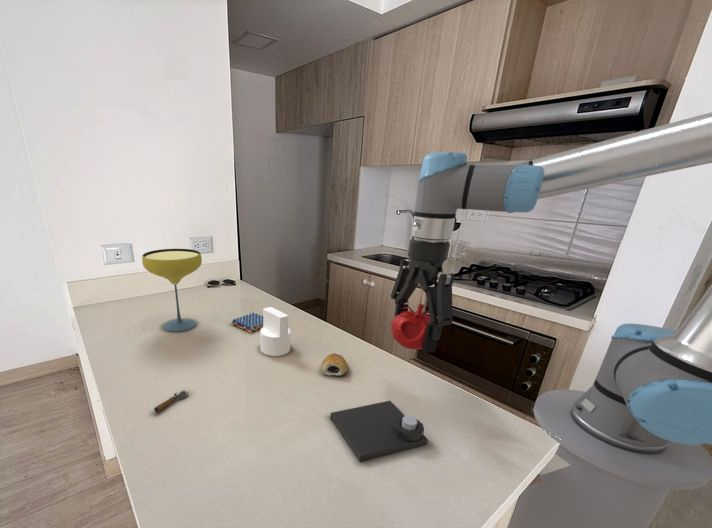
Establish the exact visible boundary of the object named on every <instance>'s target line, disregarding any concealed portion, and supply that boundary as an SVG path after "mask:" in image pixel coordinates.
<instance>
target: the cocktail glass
mask: <svg viewBox="0 0 712 528" xmlns="http://www.w3.org/2000/svg"><path fill="white" fill-rule="evenodd" d="M141 255H142V256H141V263H142V266H143V268H144V269H145V270H146V271H147V272H149V273H151V274H153V275H154V276H155V275H156V276H158V277H161V278H163V279H166V280H168V282H170V284H172V285H173V286H174V293H175V303H176V319H172V320H168V321H167V322H165V323H164V324H163V325H162V326H163V329H164V331H167V332H172V333H179V332H186V331H190V330H192V329H194V328H195V327H196V325H197V322H196V321H195V320H194V319H191V318H182V317H181V312H180V306H179V304H180V303H179V296H178V295H179V294H178V287H177V285H179V284H180V282H181V280H183V278H185V277H187V276H189V275H190V274H193V273H194V272H195V271H197V270H198V269H199V268H200V267H201V265H202V262H203V260H202V254H201V252H200V251H198V250H195V249H191V248H164V249H163V248H162V249H156V250H150V251H147V252H145V253H143V254H141Z"/></svg>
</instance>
